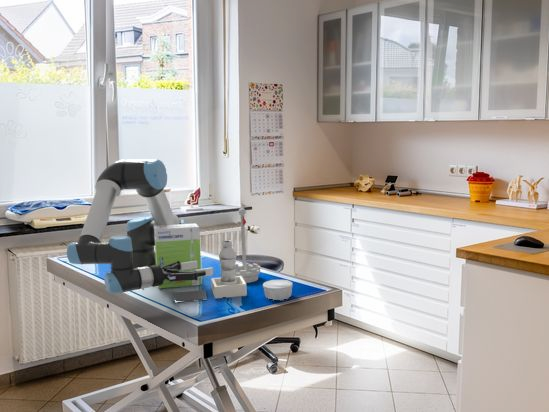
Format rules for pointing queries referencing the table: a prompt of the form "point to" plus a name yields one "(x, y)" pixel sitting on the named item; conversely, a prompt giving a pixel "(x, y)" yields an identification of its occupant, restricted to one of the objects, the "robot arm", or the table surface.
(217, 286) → the white square tray
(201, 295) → the rubber mat
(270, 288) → the ramekin
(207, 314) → the table surface
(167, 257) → the green white carton
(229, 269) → the plastic bottle
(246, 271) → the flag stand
